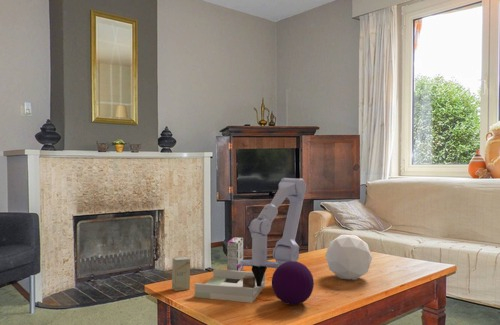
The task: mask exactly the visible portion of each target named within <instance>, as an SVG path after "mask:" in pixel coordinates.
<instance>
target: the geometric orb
mask: <svg viewBox="0 0 500 325" xmlns="http://www.w3.org/2000/svg"><path fill="white" fill-rule="evenodd" d="M370 250H371V249H370V247H369V244H368V243H367V242H366V241H364V240H363V239H361V238H360V237H359V236H357V235H356V234H339V236H336V237H335V238H334V239H333V240H331V241H330V242H329V244H328V247H327V249H326V253H325V259H326V261H327V265H328V270H329V271H330V272H332V273H333V274H334V275H336V276H337V277H338V278H339V279H341V280H351V279H352V280H353V281H356V280H358V279H359V278H360V277H362V276H363V275H365V274H367V273H368V272H369V269H370V266H371V263H372V261H373V256H372V254H371V251H370Z"/></svg>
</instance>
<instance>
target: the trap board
mask: <svg viewBox="0 0 500 325" xmlns="http://www.w3.org/2000/svg"><path fill="white" fill-rule="evenodd" d="M212 273H213V274H212V275H213V276H212V277H211V278H209V280H207V281H206V282H205V283H200V282H199V283H198V282H195V283H194V298H199V299H200V298H201V299H207V300H209V299H210V300H222V301H230V302H231V301H233V302H243V303H251V304H252V303H254V301H255V299H256V298H257V297H258V296H259V294H260V293H261V291H262V290H263V289H264V287H265V286H266V272H265V273H264V276H263V279H262V284H261V286H260V287H259V286H257V283H256V279H255V287H254V288H248V287H243V277H244V276H245V275H250V276H254V274H253V272H252V271H247V270H245V271H244V270H243V271H234V270H227V269H221V268H220V269H219V268H214V269H213V272H212Z"/></svg>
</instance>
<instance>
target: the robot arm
mask: <svg viewBox="0 0 500 325" xmlns="http://www.w3.org/2000/svg"><path fill="white" fill-rule="evenodd" d="M306 190H307V184H306V181H305V180H304V179H303V178H294V177H293V178H291V177H290V178H289V177H282V178H281V180H280V182H279V183H278V189H277V191H276V193H275V195H274V196H273V198H272V200H271V202H270V203H267V204H265V205H264V206H263V209H262V210H261V212H260V213H259V214H258V216H257V217H256V218H254V219H253V220H251V222H250V224H249V226H248V229H249V233H250V237H251V238H252V239H251V241H252V243H251V247H252V248H251V252H252V253H251V259H250V260H249V259H243V260H241V266H243V267H251V272H253V274H254V276H255V279H256V283H257V286H259V287H260V286H261V284H262V279H263V276H264V273H265V274H266V271H267V269H274V270H276V269H277V268H278V267H279V266H280V265H281V264H283V263H285V262H289V261H296V262H299V261H298V260H299V258H300V251H299V250H300V245H299V244H298V243H297V242H296V237H297V232H298V228H299V222H300V218H301V214H302V208H303V204H304V203H303V202H304V199H305V196H306V192H307V191H306ZM286 199H288V200H289V204H288V210H287V214H286V219H285V223H284V224H285V225H284V228H283V234H282V238H280V239H279V240H277V241H276V242H275V243H276V244H275V247H274V248H273V250H272V257H273V260H275V261H270V260H269V261H268V235H269V234H270V232H271V229H272V227H271V226H272V225H273V221H274V220H275V218H276V216H278V213H279V211H278V208H280V207H281V205H282V204H283V202H284V201H285V200H286Z"/></svg>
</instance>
